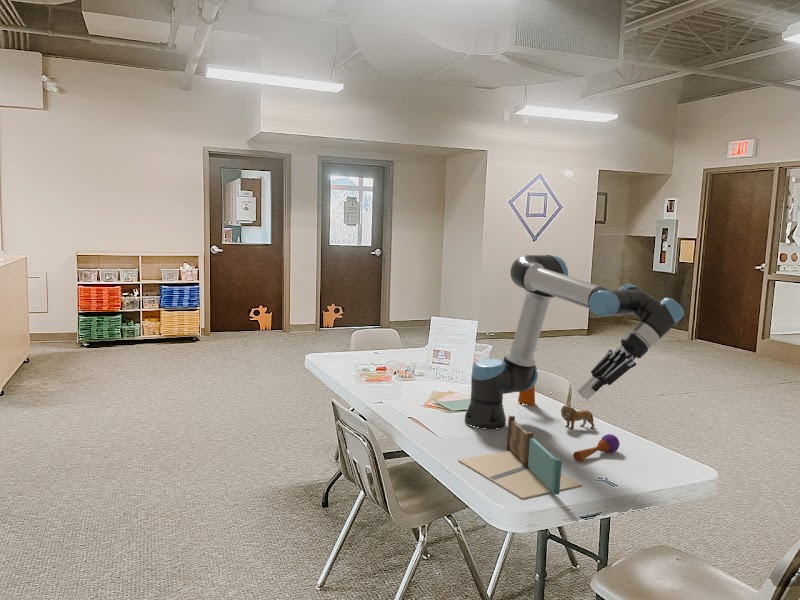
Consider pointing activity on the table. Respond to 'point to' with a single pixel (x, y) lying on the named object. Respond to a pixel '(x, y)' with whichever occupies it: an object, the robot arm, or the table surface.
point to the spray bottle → (528, 394)
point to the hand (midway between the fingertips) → (582, 395)
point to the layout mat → (513, 474)
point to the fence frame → (518, 440)
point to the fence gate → (545, 466)
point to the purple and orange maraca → (599, 447)
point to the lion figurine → (576, 416)
